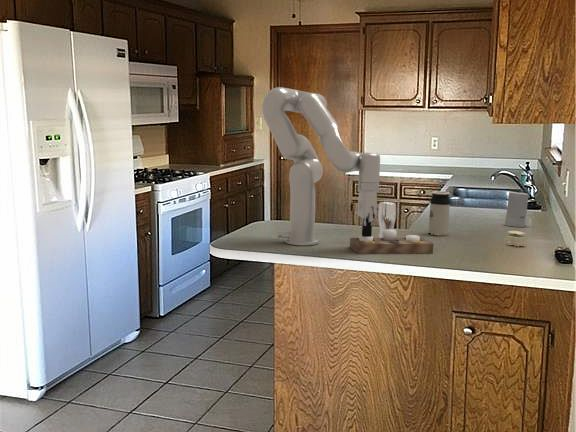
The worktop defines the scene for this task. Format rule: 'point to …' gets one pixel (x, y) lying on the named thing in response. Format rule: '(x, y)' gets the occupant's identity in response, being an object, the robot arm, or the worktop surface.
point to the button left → (365, 238)
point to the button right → (412, 238)
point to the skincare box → (516, 209)
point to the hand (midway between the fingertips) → (366, 236)
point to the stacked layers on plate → (516, 238)
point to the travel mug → (439, 213)
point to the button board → (391, 246)
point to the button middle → (389, 235)
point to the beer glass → (386, 216)
